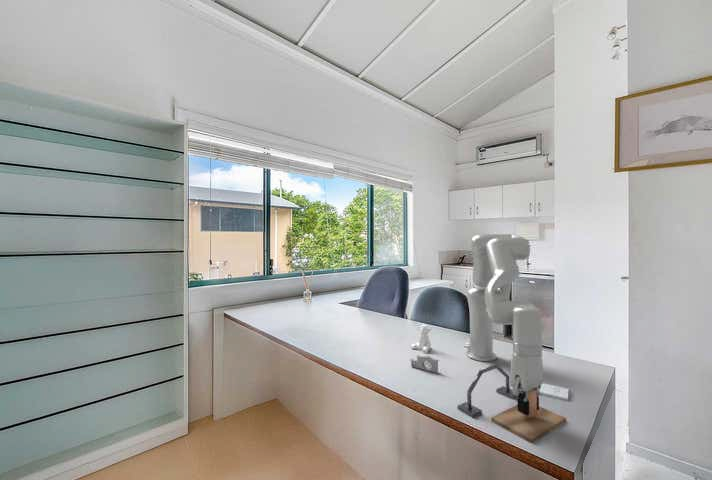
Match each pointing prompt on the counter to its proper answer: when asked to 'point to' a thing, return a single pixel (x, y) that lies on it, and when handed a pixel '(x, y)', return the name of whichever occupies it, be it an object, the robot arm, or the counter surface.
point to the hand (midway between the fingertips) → (528, 409)
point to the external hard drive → (554, 391)
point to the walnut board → (529, 422)
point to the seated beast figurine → (423, 340)
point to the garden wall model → (421, 364)
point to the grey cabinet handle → (502, 390)
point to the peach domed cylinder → (532, 402)
